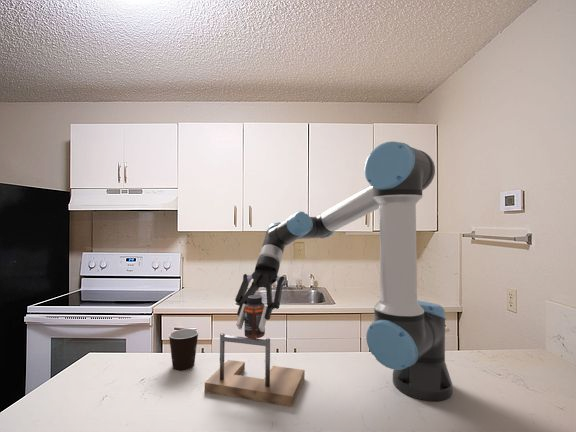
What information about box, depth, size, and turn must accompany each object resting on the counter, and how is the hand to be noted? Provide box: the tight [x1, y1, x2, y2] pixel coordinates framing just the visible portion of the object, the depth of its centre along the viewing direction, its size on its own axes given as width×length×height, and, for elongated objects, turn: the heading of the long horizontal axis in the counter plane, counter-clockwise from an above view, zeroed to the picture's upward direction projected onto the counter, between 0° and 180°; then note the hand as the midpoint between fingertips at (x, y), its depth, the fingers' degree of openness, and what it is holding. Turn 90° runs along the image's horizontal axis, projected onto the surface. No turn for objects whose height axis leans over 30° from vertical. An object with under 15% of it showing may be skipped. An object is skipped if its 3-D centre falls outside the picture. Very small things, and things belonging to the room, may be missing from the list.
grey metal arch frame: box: [219, 333, 271, 387], centre depth 83 cm, size 14×1×12 cm, turn 75°
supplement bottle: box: [243, 294, 266, 339], centre depth 90 cm, size 6×6×11 cm
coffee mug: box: [168, 328, 199, 372], centre depth 98 cm, size 12×9×10 cm
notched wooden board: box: [204, 359, 305, 408], centre depth 86 cm, size 24×14×2 cm, turn 75°
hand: (249, 328), depth 87 cm, fingers closed on supplement bottle, 6 cm apart
